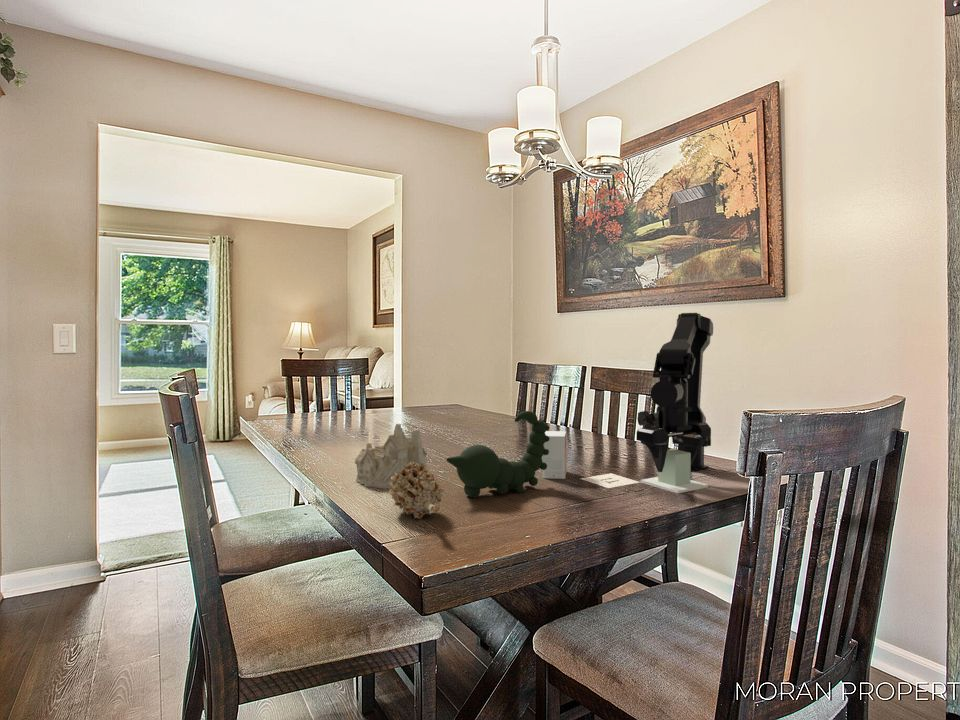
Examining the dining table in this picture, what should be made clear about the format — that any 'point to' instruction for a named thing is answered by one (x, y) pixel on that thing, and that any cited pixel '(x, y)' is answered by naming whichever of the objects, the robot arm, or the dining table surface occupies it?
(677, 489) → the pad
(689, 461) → the sage block
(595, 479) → the tile
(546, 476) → the small box
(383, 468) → the ceramic cottage
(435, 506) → the pine cone
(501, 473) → the toy figurine
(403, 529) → the dining table surface
